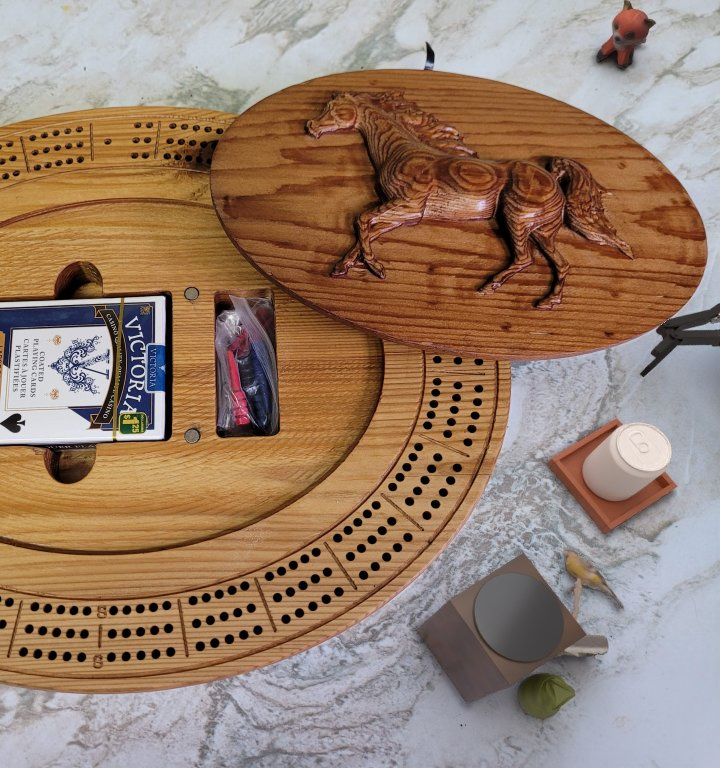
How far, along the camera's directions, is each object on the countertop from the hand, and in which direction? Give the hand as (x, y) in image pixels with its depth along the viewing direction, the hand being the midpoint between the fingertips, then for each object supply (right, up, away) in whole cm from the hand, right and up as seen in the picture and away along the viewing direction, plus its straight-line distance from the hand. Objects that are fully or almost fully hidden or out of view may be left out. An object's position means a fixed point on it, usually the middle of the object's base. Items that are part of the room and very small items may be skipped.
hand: (686, 404), depth 114 cm
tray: (-7, -11, +8) cm, 15 cm away
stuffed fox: (+14, +66, +46) cm, 82 cm away
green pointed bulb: (-23, -39, -5) cm, 46 cm away
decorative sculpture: (-15, -29, 0) cm, 33 cm away
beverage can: (-7, -11, +8) cm, 15 cm away
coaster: (-31, -24, -20) cm, 44 cm away
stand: (-30, -33, -2) cm, 45 cm away
